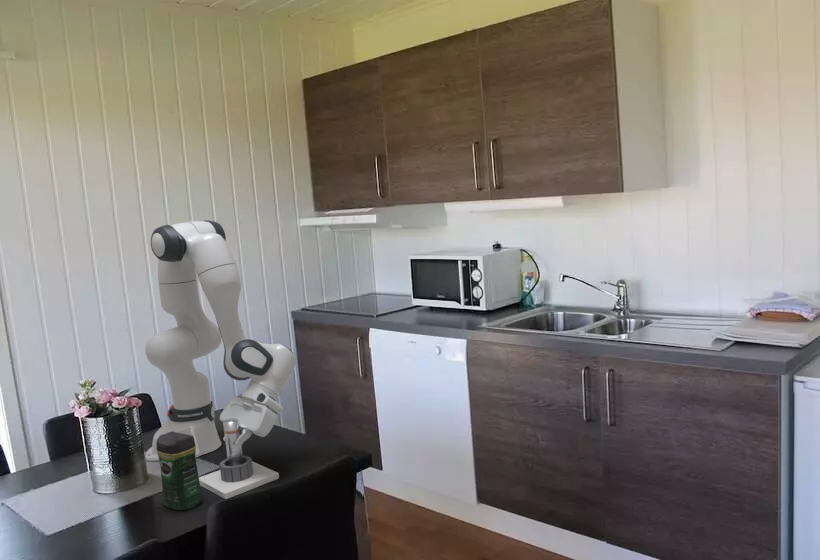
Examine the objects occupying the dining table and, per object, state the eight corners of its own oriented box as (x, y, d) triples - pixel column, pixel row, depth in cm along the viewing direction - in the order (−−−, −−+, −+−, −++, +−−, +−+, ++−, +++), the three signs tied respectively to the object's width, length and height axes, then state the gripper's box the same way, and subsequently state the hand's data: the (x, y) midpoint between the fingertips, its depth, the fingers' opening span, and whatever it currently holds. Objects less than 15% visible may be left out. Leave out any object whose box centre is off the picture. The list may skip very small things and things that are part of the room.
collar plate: (225, 499, 179) (223, 478, 178) (197, 483, 191) (194, 464, 190) (279, 478, 190) (276, 458, 189) (249, 464, 201) (246, 446, 201)
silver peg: (227, 474, 188) (221, 424, 186) (230, 468, 192) (224, 419, 190) (243, 472, 188) (237, 422, 186) (245, 466, 192) (239, 417, 190)
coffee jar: (208, 501, 179) (199, 431, 176) (181, 514, 172) (172, 442, 170) (185, 494, 184) (176, 426, 182) (158, 506, 178) (149, 436, 176)
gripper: (230, 387, 199) (203, 431, 194) (271, 398, 185) (243, 446, 179) (246, 398, 203) (219, 441, 198) (286, 410, 189) (259, 457, 183)
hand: (231, 443), depth 188 cm, fingers closed on silver peg, 4 cm apart
